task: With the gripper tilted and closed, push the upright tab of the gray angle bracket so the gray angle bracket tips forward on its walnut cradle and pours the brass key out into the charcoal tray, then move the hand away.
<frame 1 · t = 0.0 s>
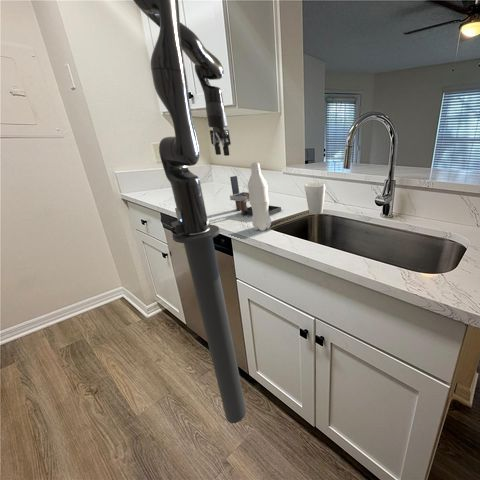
hand: (222, 155, 116), 26 cm above the worktop, tool pointing down, fingers open, 8 cm apart
foam cup: (315, 213, 121), on the worktop
key: (244, 197, 126), point 6 cm above the worktop, touching gray angle bracket
cradle: (246, 209, 128), on the worktop
water bottle: (262, 229, 102), on the worktop
gray angle bracket: (243, 188, 124), point 11 cm above the worktop, hinge at -0.1°, touching key
tray: (261, 212, 123), on the worktop
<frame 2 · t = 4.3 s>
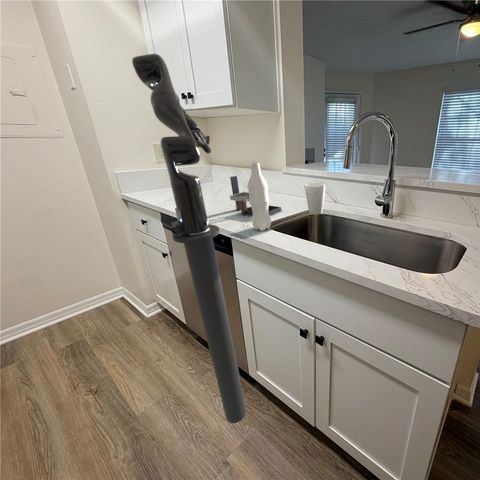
hand: (209, 152, 127), 27 cm above the worktop, tool tilted 45°, fingers closed
nothing on the worktop moved.
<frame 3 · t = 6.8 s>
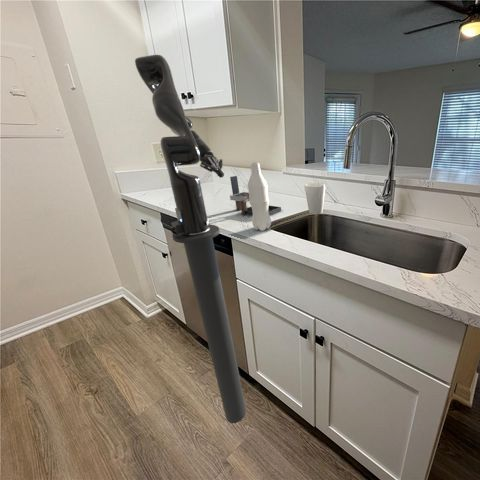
hand: (222, 176, 128), 16 cm above the worktop, tool tilted 45°, fingers closed
nothing on the worktop moved.
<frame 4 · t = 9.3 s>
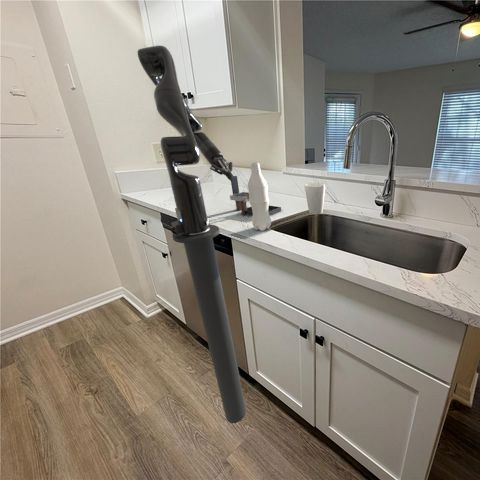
hand: (232, 179, 125), 14 cm above the worktop, tool tilted 45°, fingers closed
gray angle bracket: (243, 188, 124), point 11 cm above the worktop, hinge at 0.2°, touching gripper, key
everything else where it was.
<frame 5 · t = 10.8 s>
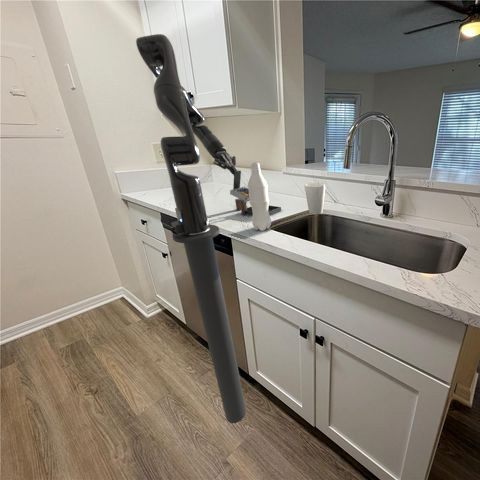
hand: (236, 174, 123), 17 cm above the worktop, tool tilted 45°, fingers closed
key: (244, 194, 126), point 8 cm above the worktop, tilted 16°, touching gray angle bracket
gray angle bracket: (245, 185, 123), point 12 cm above the worktop, hinge at 15.8°, touching gripper, key
everything else where it was.
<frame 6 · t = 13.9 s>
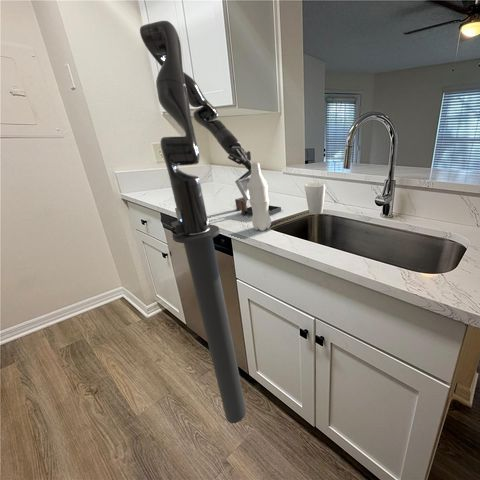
hand: (251, 169, 117), 20 cm above the worktop, tool tilted 45°, fingers closed
key: (266, 210, 123), point 1 cm above the worktop, tilted 180°, touching tray
gray angle bracket: (253, 184, 120), point 13 cm above the worktop, hinge at 59.3°, touching gripper
everything else where it was.
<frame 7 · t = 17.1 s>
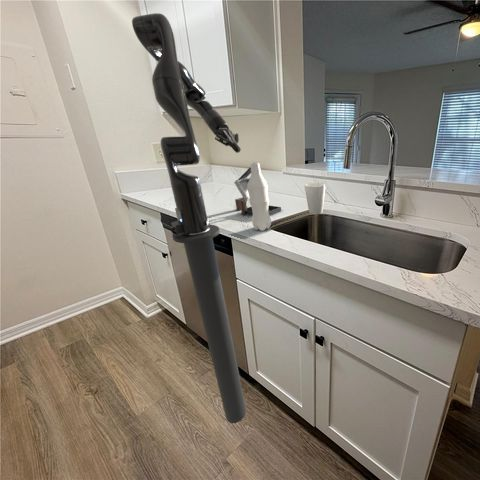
hand: (238, 151, 117), 27 cm above the worktop, tool tilted 45°, fingers closed
gray angle bracket: (252, 184, 120), point 13 cm above the worktop, hinge at 55.2°
everything else where it was.
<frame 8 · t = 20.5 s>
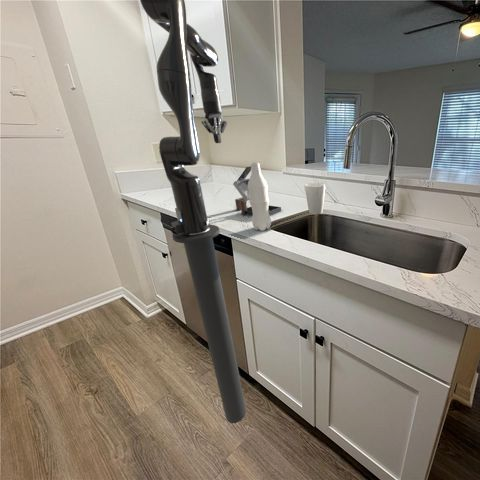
hand: (218, 143, 121), 31 cm above the worktop, tool pointing down, fingers closed
gray angle bracket: (251, 184, 120), point 13 cm above the worktop, hinge at 48.2°
everything else where it was.
at the end: key inside the target area on the tray (2.3 cm from its centre), point 0.8 cm above the tray's base; gray angle bracket reached +60° during the clip, +48° at the end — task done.
